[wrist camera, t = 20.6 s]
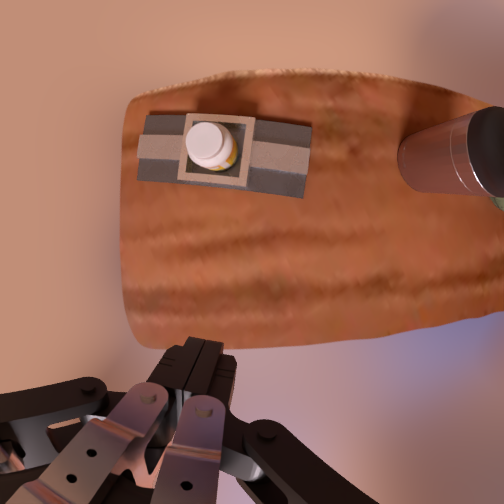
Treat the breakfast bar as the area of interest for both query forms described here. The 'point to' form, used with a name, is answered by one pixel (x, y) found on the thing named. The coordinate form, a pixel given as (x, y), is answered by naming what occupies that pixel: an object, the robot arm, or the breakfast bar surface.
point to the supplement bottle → (211, 146)
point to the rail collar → (247, 164)
